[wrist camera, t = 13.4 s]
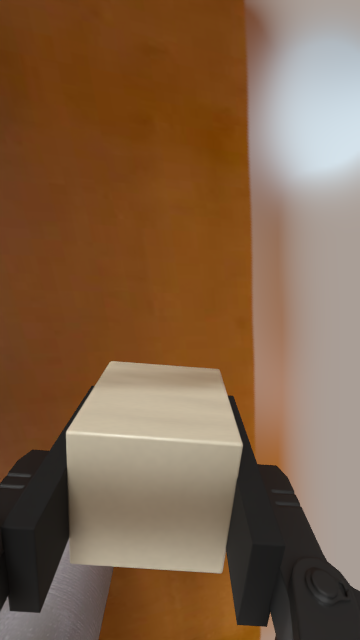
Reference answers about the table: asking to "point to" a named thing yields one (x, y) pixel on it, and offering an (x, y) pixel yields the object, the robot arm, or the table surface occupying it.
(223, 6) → the table surface
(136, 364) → the block
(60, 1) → the table surface
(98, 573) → the pillar candle
